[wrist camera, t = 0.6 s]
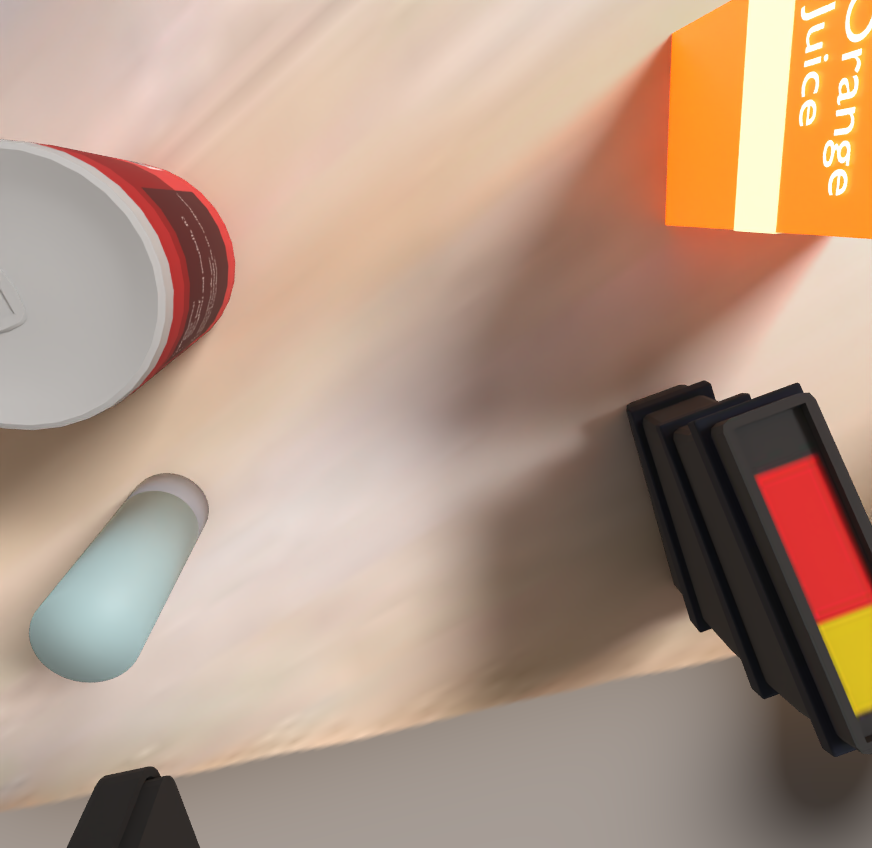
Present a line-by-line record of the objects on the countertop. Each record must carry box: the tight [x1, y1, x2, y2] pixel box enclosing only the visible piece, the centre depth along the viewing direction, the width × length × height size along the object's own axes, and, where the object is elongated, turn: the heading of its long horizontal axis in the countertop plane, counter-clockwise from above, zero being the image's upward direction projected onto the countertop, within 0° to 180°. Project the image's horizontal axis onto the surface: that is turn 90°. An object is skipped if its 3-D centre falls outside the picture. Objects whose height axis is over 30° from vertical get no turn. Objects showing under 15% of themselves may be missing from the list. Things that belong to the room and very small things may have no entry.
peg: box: [29, 473, 209, 683], centre depth 27 cm, size 4×4×10 cm
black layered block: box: [627, 381, 872, 757], centre depth 29 cm, size 4×13×15 cm, turn 20°
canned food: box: [0, 139, 235, 430], centre depth 23 cm, size 8×8×11 cm
